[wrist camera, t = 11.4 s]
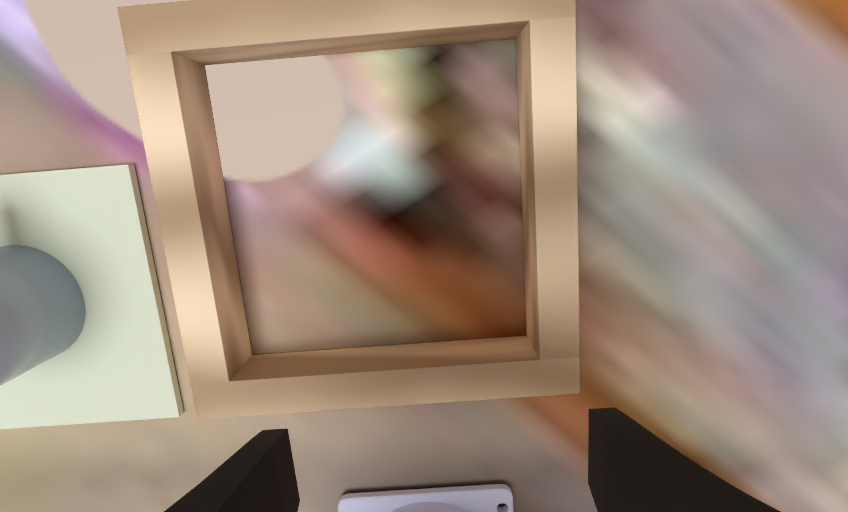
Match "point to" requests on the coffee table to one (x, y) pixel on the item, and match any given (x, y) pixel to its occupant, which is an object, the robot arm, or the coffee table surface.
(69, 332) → the grey rounded cylinder
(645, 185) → the coffee table surface
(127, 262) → the sage mat
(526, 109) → the frame
